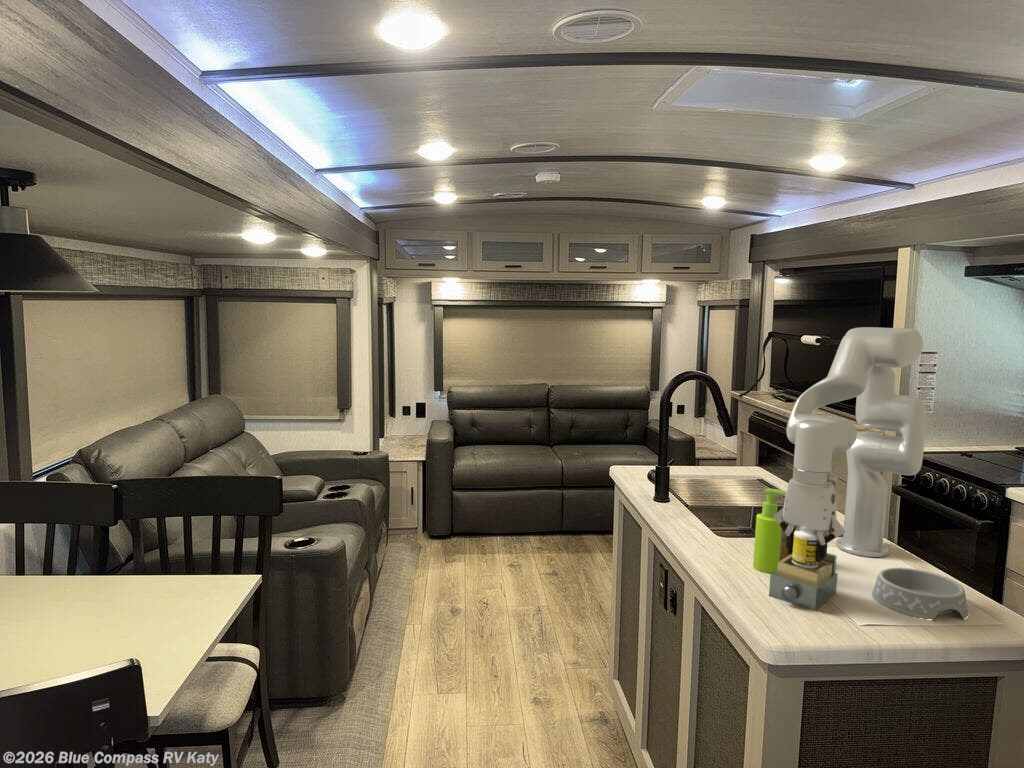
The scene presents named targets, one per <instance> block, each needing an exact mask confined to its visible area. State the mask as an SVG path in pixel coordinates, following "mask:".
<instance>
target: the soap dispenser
mask: <svg viewBox="0 0 1024 768" xmlns="http://www.w3.org/2000/svg"><path fill="white" fill-rule="evenodd" d="M763 492H764V493H766V500H764V501H762V509H761V510H762V512H761V513H757V514H756V517H755V518H756V519H755V531H754V533H755V534H754V535H755V536H754V549H753V562H752V563H753V564H752V567H753V569H755V570H756V571H757V572H758V571H759V572H762V573H766V574H767V573H768V574H771V573H773V572H775V571H776V570H777V564H778V562H779V559H780V544H781V530H782V528H781V526H780V524H779V523H778V522H777V521H776V520H775V519H774V515H775V514H776V513H777V512H778V503H777V502H776V501H775V495H776V494H777V495H781V496H783V497H785V496H786V491H784V490H782V489H776V488H768V487H767V488H765V489H764V490H763Z"/></svg>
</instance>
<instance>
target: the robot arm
mask: <svg viewBox="0 0 1024 768" xmlns="http://www.w3.org/2000/svg"><path fill="white" fill-rule="evenodd" d="M923 346H924V341H923V336H922V334H921V333H920V332H919V330H917V329H913V328H903V327H902V328H899V327H878V326H877V327H872V326H871V327H870V326H865V327H864V326H863V327H862V326H861V327H854V328H851V329H849V330H848V331H847V332H846V333H845V335H844V336H843V337H842V339H841V341H840V344H839V346H838V348H837V350H836V354H835V355H834V359H833V361H832V364H831V366H830V369H829V371H828V374H827V376H826V377H825V378H823V379H822V380H820V381H818V382H815V383H814V384H813V385H812V386H810V387H808V389H806V390H805V391H804V392H803V393H801V395H799V396H798V398H797V399H796V401H795V403H794V404H793V407H792V411H791V412H790V414H789V418H788V421H787V423H786V436H787V439H788V440H789V442H790V443H792V444H793V445H794V456H793V469H792V471H793V472H792V478H791V479H789V482H788V484H787V488H786V491H785V492H786V496H784V504H783V507H782V508H781V509H779V511H778V510H777V513H776V514H775V515H774V519H775V520H776V521H777V522H778V523H779V524H780V526H781V528H782V529H783V530H784V532H785V535H786V536H787V542H786V548H788V552H787V553H788V554H792V551H793V539H794V532H795V530H796V529H797V527H798V526H805V527H807V528H809V529H812V530H816V531H817V535H818V538H819V543H818V544H817V547H816V562H820V561H822V560H823V559H825V558H826V555H827V553H828V552H827V550H828V543H830V542H832V541H833V540H835V539H836V540H835V541H836V542H835V545H836V548H839V549H840V550H842V551H844V552H846V553H849V554H851V555H855V556H860V557H868V558H869V557H870V558H882V557H886V556H888V555H889V553H890V549H889V547H888V546H887V545H885V544H884V536H885V535H884V533H885V525H886V512H887V510H886V509H887V500H888V499H887V498H888V485H887V482H886V480H885V478H884V477H883V475H882V474H881V473H880V472H884V473H889V474H890V473H891V474H895V475H902V476H916V475H917V474H919V472H920V470H921V468H922V465H923V459H924V451H925V450H924V449H925V438H926V437H925V436H926V426H927V409H926V405H925V402H924V401H923V400H922V399H921V398H919V397H916V396H913V395H903V394H896V393H895V385H896V372H895V371H894V369H893V368H897V369H899V368H904V367H907V366H909V365H911V364H914V363H915V362H916V361H917V360H918V359H919V358H920V357H921V354H922V352H923ZM854 398H856V400H855V401H856V403H855V420H856V422H857V423H858V425H860V426H861V427H864V428H869V429H874V430H881V431H889V432H895V433H896V432H897V433H900V434H901V436H894V435H887V434H882V433H873V432H872V433H871V432H858V433H857V428H856V426H855V425H854V423H853V422H852V421H850V420H848V419H846V418H843V417H841V418H840V417H834V416H826V415H819V414H813V413H814V412H815V411H817V410H818V409H819V408H822V407H825V406H827V405H830V404H834V403H838V402H843V401H845V400H846V401H847V400H850V399H854ZM841 452H842V453H843V452H846V462H847V463H846V464H847V483H846V496H845V507H844V509H845V510H844V520H843V521H844V522H843V526H842V524H840V522H839V521H838V519H837V496H836V495H837V494H836V489H835V485H834V484H831V483H838V478H839V477H838V476H837V475H834V474H833V471H832V465H833V463H832V462H833V454H834V453H841ZM830 529H834V531H833V532H830V533H829V530H830ZM840 536H842V537H840Z"/></svg>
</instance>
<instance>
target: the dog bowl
mask: <svg viewBox="0 0 1024 768" xmlns="http://www.w3.org/2000/svg"><path fill="white" fill-rule="evenodd" d="M871 597H872V598H873V600H874V601H876V603H878V604H879V605H880V606H883V607H884V608H886V609H888V610H890V611H893V612H895V613H898V614H901V615H903V616H907V617H909V618H910V617H911V618H913V617H916V618H915V619H918V618H923V619H932V620H934V621H935V619H936V617H937V615H946V614H949V613H953V611H957V612H958V613H959V614H960V616H961V617H962V620H963V619H964V618H966V617H967V616H968V614H969V613H970V612H969V609H968V608H969V607H968V603H967V602H968V601H967V597H966V591H965V588H964V587H963V586H962V585H961V584H960V583H959V582H957V581H955V580H953V579H952V578H949V577H948V576H945V575H942V574H938V573H935V572H930V571H928V570H924V569H923V570H922V569H919V568H910V567H909V568H908V567H888V568H885V569H881V570H880V571H879V572H878V574H877V577H876V581H875V583H874V586H873V589H872V591H871ZM969 615H970V614H969ZM968 617H969V616H968Z"/></svg>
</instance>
